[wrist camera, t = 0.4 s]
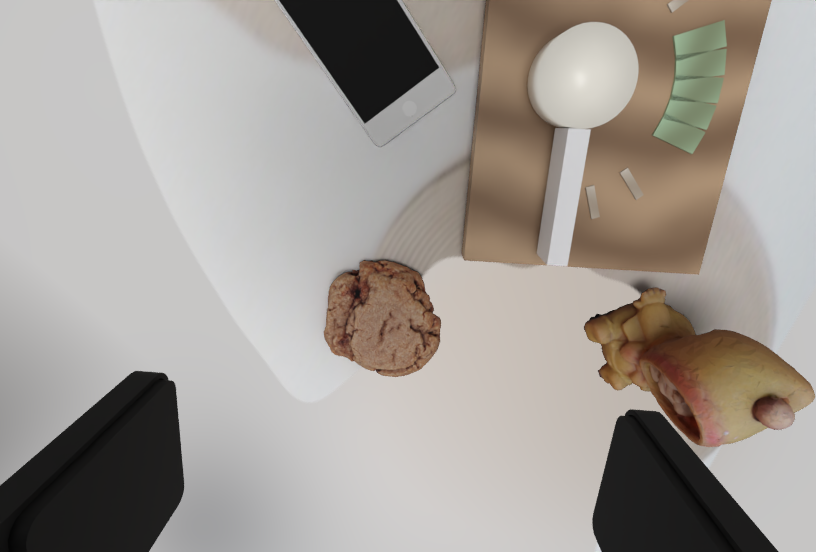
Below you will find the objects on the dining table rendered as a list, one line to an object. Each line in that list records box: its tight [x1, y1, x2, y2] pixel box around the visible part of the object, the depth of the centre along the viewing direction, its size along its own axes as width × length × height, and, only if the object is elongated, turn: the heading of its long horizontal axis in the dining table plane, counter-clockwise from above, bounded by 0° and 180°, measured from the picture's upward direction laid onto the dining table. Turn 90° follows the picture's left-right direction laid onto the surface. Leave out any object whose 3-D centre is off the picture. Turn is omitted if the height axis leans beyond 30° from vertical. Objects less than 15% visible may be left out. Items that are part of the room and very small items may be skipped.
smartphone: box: [275, 0, 455, 147], centre depth 33 cm, size 7×16×1 cm, turn 35°
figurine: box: [584, 288, 815, 447], centre depth 33 cm, size 10×8×15 cm
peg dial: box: [527, 22, 639, 266], centre depth 31 cm, size 15×6×3 cm, turn 177°
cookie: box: [324, 260, 441, 377], centre depth 38 cm, size 10×11×3 cm
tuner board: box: [462, 0, 771, 274], centre depth 33 cm, size 20×18×2 cm
